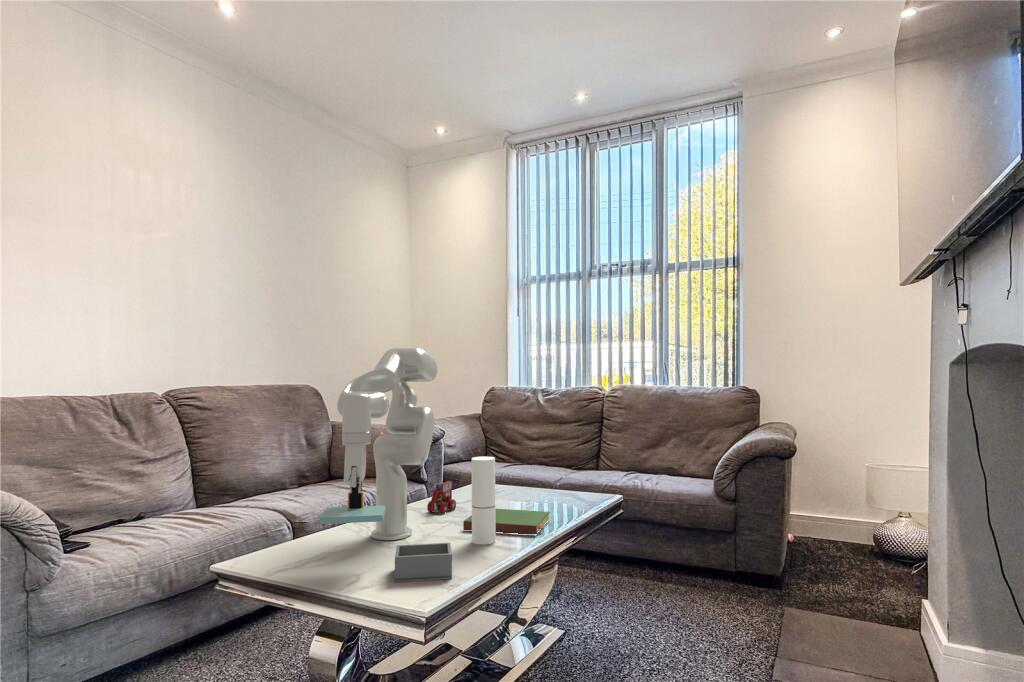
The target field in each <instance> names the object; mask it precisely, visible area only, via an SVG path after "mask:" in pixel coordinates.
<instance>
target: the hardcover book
mask: <svg viewBox="0 0 1024 682" xmlns="http://www.w3.org/2000/svg"><path fill="white" fill-rule="evenodd" d="M550 513H551V512H550V511H542V510H523V509H508V508H495V527H496V532H503V533H518V534H537V532H538V531H539V530H540V529H541V528H542V527H543V526H544V524H545V523H546V522H547V521H548V520H549V521H550V519H549V518H550V515H549V514H550ZM462 523H463V527H462V528H463V530H472V514H471V515H470V516H469V517H466V519H464V520H463V521H462ZM544 527H545V526H544Z"/></svg>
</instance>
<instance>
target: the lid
mask: <svg viewBox="0 0 1024 682" xmlns="http://www.w3.org/2000/svg"><path fill="white" fill-rule="evenodd" d="M349 493H350V491H348V493H347V506H335V507H333V506H332V507H331V506H329V507H326V508H325V509H324V510H323V512H322V514H320V516H319V517H318V525H332V524H333V525H334V524H335V525H337V524H357V523H376V522H383V519H384V515H385V512H386V505H381V506H376V505H365V491H363V490H362V492H361V493H362V507H361V508H357V509H350V508H349Z"/></svg>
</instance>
